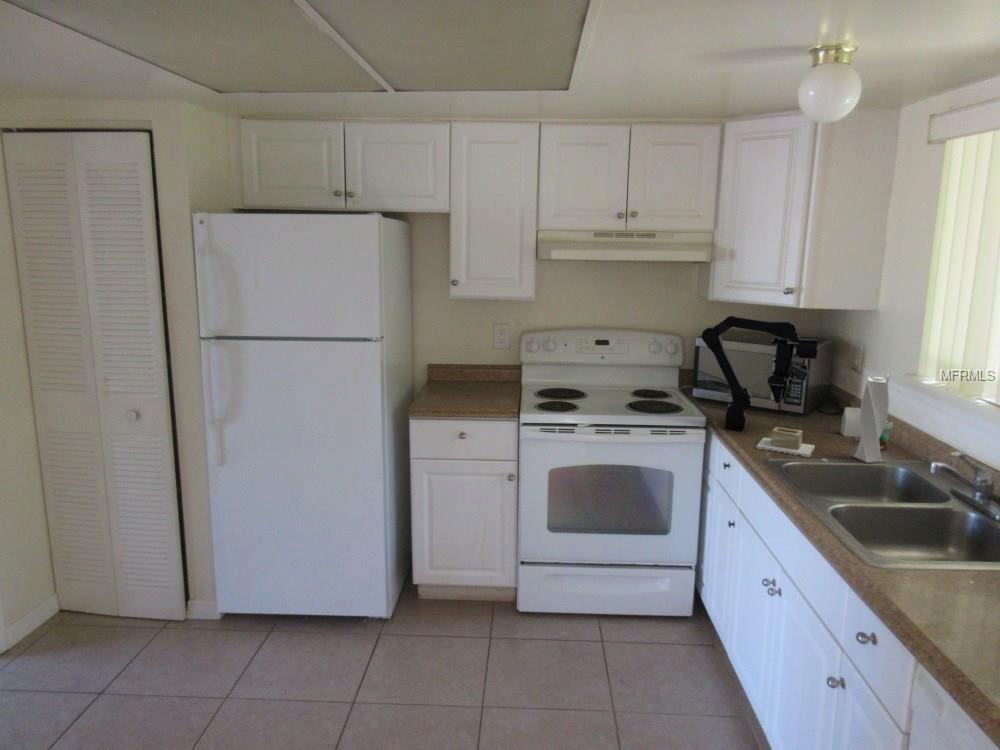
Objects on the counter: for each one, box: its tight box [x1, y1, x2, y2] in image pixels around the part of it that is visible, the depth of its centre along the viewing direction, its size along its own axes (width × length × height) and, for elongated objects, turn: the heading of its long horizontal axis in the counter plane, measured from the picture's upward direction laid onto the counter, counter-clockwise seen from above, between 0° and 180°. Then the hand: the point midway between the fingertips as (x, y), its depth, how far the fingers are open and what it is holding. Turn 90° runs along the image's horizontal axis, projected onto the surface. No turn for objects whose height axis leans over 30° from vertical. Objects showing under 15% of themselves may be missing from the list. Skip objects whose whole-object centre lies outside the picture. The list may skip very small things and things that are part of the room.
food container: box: [879, 417, 894, 452], centre depth 220 cm, size 12×6×10 cm, turn 168°
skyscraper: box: [850, 373, 890, 464], centre depth 204 cm, size 8×8×28 cm
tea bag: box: [839, 406, 861, 438], centre depth 235 cm, size 4×7×10 cm, turn 80°
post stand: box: [756, 431, 816, 458], centre depth 217 cm, size 16×12×6 cm
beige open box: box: [770, 426, 804, 450], centre depth 217 cm, size 6×8×5 cm
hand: (779, 400), depth 234 cm, fingers open, 9 cm apart
